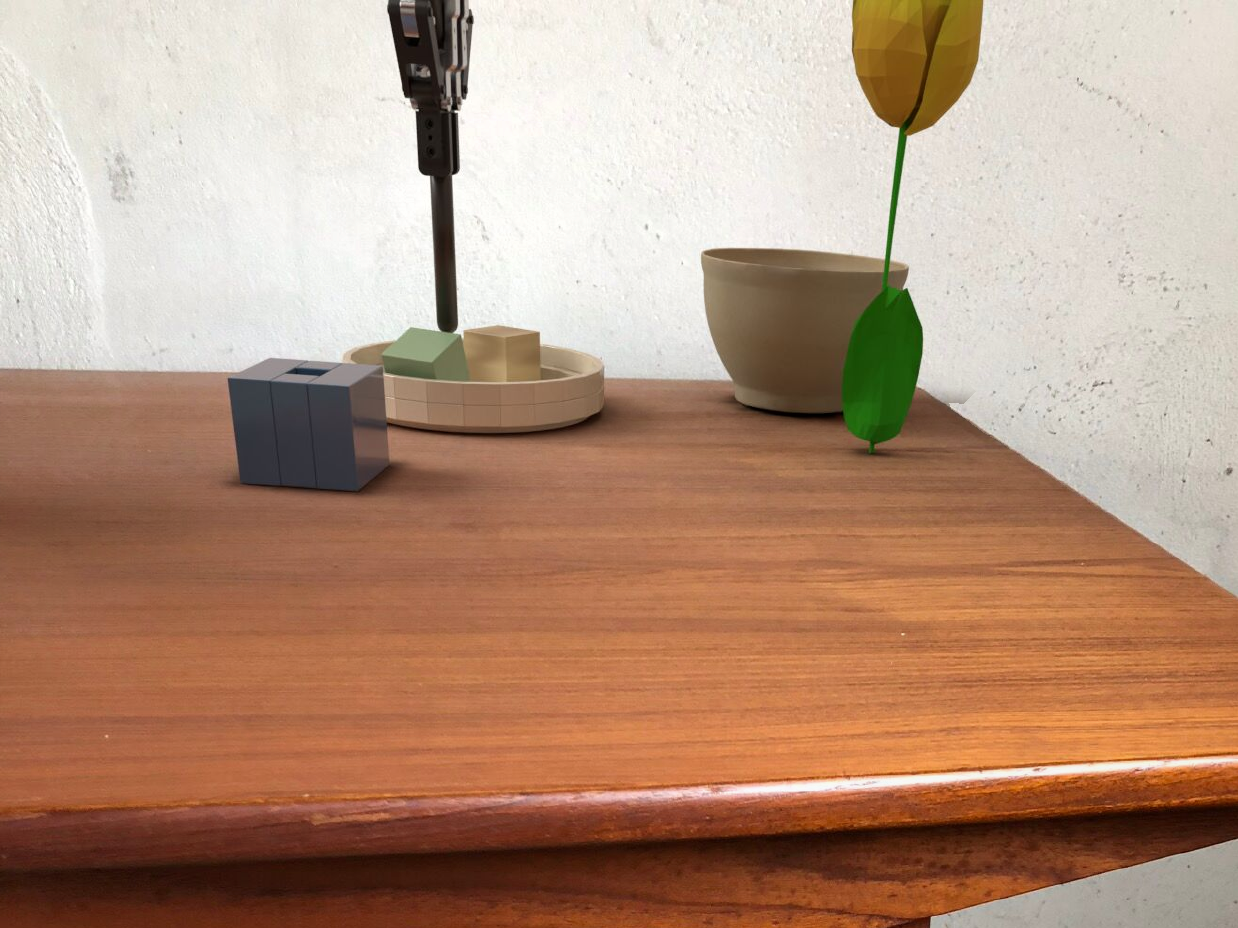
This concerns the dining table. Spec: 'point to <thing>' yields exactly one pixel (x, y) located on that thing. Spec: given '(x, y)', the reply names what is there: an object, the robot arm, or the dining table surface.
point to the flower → (912, 101)
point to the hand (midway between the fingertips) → (439, 174)
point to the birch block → (502, 354)
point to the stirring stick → (444, 252)
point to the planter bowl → (789, 320)
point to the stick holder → (309, 423)
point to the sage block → (427, 356)
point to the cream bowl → (493, 395)
